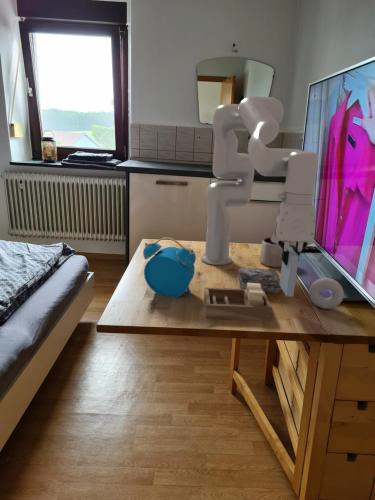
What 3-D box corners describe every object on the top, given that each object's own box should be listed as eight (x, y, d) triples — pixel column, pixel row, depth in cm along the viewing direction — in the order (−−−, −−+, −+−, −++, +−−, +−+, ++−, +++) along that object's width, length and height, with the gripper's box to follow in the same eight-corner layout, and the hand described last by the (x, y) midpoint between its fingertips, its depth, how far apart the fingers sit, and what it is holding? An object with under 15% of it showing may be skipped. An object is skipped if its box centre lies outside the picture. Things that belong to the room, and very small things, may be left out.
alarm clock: (199, 293, 124) (202, 234, 118) (188, 306, 115) (192, 243, 108) (152, 284, 129) (152, 227, 123) (138, 296, 120) (138, 235, 113)
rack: (203, 302, 118) (204, 287, 116) (261, 304, 118) (263, 289, 117) (205, 321, 106) (206, 305, 105) (269, 323, 107) (271, 307, 105)
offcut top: (246, 290, 114) (247, 282, 113) (259, 290, 114) (260, 283, 113) (248, 299, 107) (249, 292, 107) (262, 300, 107) (262, 293, 106)
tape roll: (306, 307, 118) (311, 277, 114) (306, 302, 121) (311, 273, 118) (340, 313, 115) (346, 283, 111) (340, 308, 118) (346, 279, 114)
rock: (231, 291, 125) (238, 264, 121) (235, 281, 133) (242, 256, 129) (277, 307, 122) (287, 280, 118) (279, 296, 130) (288, 270, 126)
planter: (257, 258, 159) (259, 236, 156) (282, 259, 160) (285, 237, 157) (262, 267, 149) (265, 244, 146) (290, 268, 150) (293, 245, 147)
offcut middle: (243, 296, 115) (244, 289, 114) (256, 297, 115) (257, 289, 114) (249, 308, 108) (250, 300, 107) (263, 308, 108) (264, 301, 107)
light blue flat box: (279, 284, 114) (284, 246, 110) (285, 284, 114) (291, 246, 110) (286, 296, 106) (291, 255, 102) (293, 296, 106) (298, 256, 102)
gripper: (271, 200, 98) (264, 267, 104) (332, 202, 98) (321, 269, 104) (265, 195, 105) (259, 258, 111) (322, 197, 105) (313, 260, 111)
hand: (289, 263), depth 107 cm, fingers closed on light blue flat box, 1 cm apart
